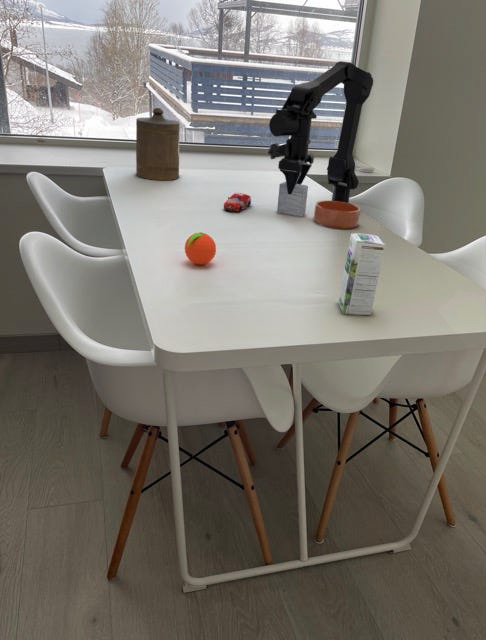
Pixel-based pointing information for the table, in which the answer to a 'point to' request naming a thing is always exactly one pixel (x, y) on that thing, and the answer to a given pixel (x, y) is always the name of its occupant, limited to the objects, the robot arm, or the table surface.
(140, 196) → the table surface
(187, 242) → the clementine
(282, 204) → the medicine box
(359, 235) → the syrup box
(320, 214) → the bowl
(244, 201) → the race car
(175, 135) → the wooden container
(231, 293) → the table surface
